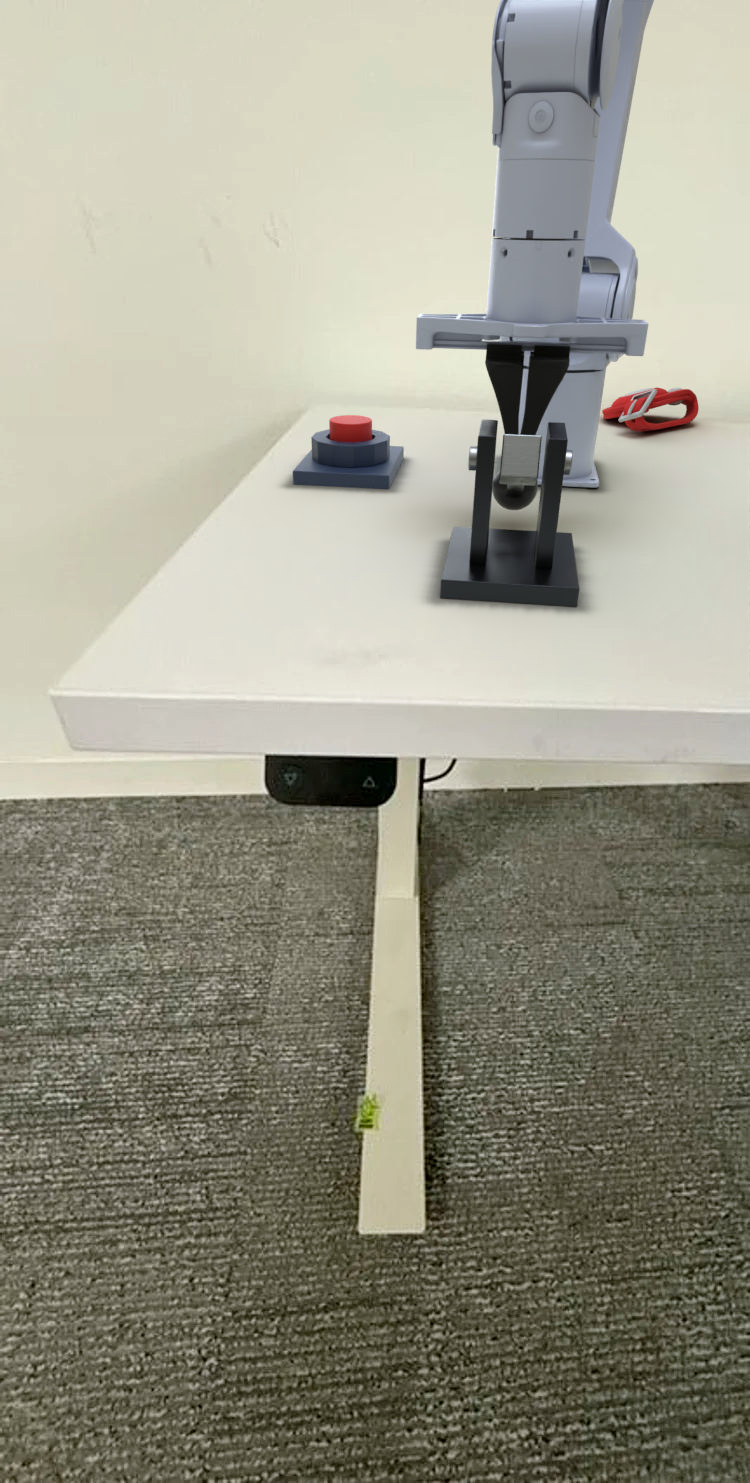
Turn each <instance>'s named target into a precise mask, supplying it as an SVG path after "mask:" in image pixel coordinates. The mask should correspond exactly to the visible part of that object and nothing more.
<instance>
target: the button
mask: <svg viewBox="0 0 750 1483" xmlns="http://www.w3.org/2000/svg"><path fill="white" fill-rule="evenodd" d="M328 422H329V429H330V440H333V441H338V442H364V441H369V440H372V430H373V420H372V418H371V417H368V416H364V415H356V414H355V415H354V414H345V415H344V414H343V415H336V416H333V417H330V418H329V420H328Z"/></svg>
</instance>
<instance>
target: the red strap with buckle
mask: <svg viewBox="0 0 750 1483" xmlns="http://www.w3.org/2000/svg"><path fill="white" fill-rule="evenodd" d="M667 405H668V406H678V405H683V406H685V408H686V411H685V414H684V416H683V417H681V418H677V419H673V420H668V421H663V422H658V423H653V422H649V421H646V419H645V417H644V414H646V413H648V412H649V411H650V410H652V409H657V408H659V407H663V406H667ZM601 412H602V417H603V420H610V419H616V418H618V422H619V423H623V422H624V423H625V425H626V427H627V428H629V429H630V431H634V432H639V433H641V432H650V431H655V430H661V429H666V428H671V427H676V426H681V425H686V424H689V423H692V422H693V421H694V420H695V419H696V418H697V416H698V413H699V402H698V398H697V395H696V394H695V393H694V392H693V390H691V389H690V388H685V389H684V388H682V387H674V388H670V389H669V390H666V389H664V388H661V387H648V388H641V389H637V390H634V391H631V392H628V393H626V394H624V395H622V396H619V397H618V398H617V399H614V401H613V402H612V403H611V405H610V406H609V407H606V408H604V409H602V410H601Z"/></svg>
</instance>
